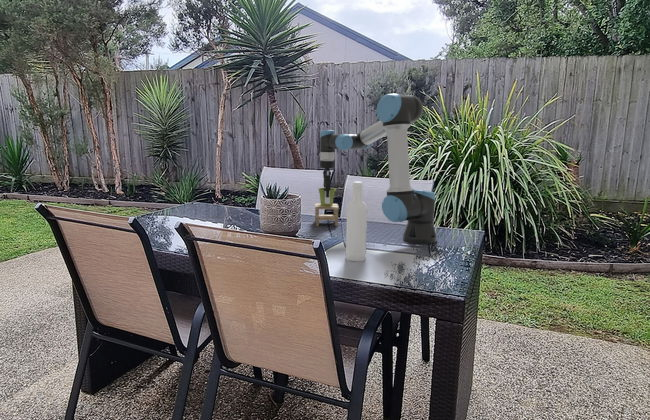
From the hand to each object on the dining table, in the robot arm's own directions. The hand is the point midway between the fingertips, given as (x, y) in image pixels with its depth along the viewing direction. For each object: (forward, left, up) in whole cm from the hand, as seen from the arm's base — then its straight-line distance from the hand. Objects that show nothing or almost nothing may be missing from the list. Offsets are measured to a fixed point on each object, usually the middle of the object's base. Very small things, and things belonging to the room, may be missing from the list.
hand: (326, 201), depth 227 cm
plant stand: (0, 0, -12) cm, 12 cm away
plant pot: (0, 0, -2) cm, 2 cm away
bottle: (-63, -8, -12) cm, 65 cm away
